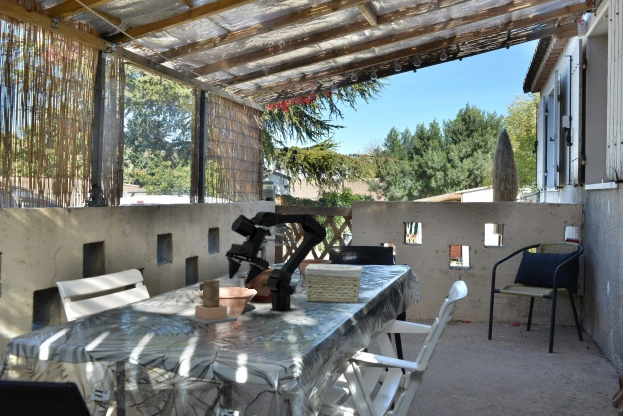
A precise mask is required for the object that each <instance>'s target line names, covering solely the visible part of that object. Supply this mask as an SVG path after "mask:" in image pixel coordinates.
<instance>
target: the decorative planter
mask: <svg viewBox="0 0 623 416" xmlns="http://www.w3.org/2000/svg"><path fill="white" fill-rule="evenodd" d="M264 270H265V271H263V272H261V273H260V274H259V275H257V276H256V277H255V278H254V279H253V280H252V281H251V282H250V283H249V284H246V283H245V282H246V279H247V276H248V274H246V275H247V276H246V278H245V280H244V286H245V288H248V289H255V290H256V291H257V294H256V295H255V296H254V297H253V298H252V299H251V300H250V299H249V301H250V302H253V303H266V302H267V303H268V302H272V297H273V294H274V293H271V292H270V288H269V287H268V285H267V279H268V278H269V276H268V275H270V274H271V273H272V271H273V270H274V268H272V267H269V268H268V270H266V269H264ZM249 271H250V269H249V270H248V272H249Z"/></svg>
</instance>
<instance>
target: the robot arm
mask: <svg viewBox="0 0 623 416" xmlns="http://www.w3.org/2000/svg"><path fill="white" fill-rule="evenodd" d="M281 224H300V227H301V229H302V230H303V231H304V233H303V237H302V240H301V242H300V244H299V245H298V246H297V247H296V249H295V250H294V251H293V253H292V254H291V255H290V257H288V259H287V260H286V262H285V263H284V264H283V265H282V267H281V268H273V269H274V270H273V271H272V273H271V274H270V275H268V276H269V278H268V279H267V285H268V287H269V288H270V292H271V293H274V294H273V297H272V301H271V308H270V311H274V312H275V311H276V312H283V313H285V312H288V311H292V310H293V309H294V308H292V307H291V296H293V295H294V292H295V289H294V288H293V287H292V286H291V285H290V284H291V282H292V278H293V274H294V273H295V272H296V270H297V269H298V268H299V266H300V264H302V263H303V261H304V259H305V258H306V257H307V256H308V255H309V253H310V252H311V251H312V249H313V248H315V247H316V246H318V245H320V244H321V243H322V242H324V241H325V239H326V238H327V235H328V234H327V229H326V228H325V227H324V226H322V225H321V223H320V222H319V221H317V220H316V219H314V218H313V216H312V215H311V214H310V213H308V212H307V213H306V212H300V213H277V212H272V211H257V213H256V214H254V216H253V217H251V218H249V217H247V216H246V215H244V214H239V216H238V217H237V218H236V219H235V220H234V221H233V222H232V223H231V226H230V227H231V228H230V229H231V231H233V232H235V233H236V234H238V235H239V236H242V237H243V238H247V237H248V238H247V240H246V241H245V240H244V241H243V242H242V244H241V243H231V244H230V245H231V246H230V250H227V251H226V253H225V255H224V257H226V260H227V261H228V263H229V271H228V279H230V280H232V279H233V278H234V277H235V275H236V274H237V272H238V271H239V270H240V268H241V266H242V264H241V263H242V262H246V263H249V270H250V271H249V270H248V273H247V275H248V276H247V279H246V282H245V283H246V284H249V283H250V282H251V281H252V280H253V279H254V278H255V277H256V276H257V275H259V274H260V273H261V272H263V271H265V270H264V269H266V270H268V268H270V262H269V261H267V260H266V259H264V258H263V257H259V253H260V252H263V248H262V245H263V244H264V241H265V239H266V237H272V233H271V231H270V229H269V228H270V227H275V226H277V225H281ZM264 227H265V228H264ZM267 227H268V228H267Z"/></svg>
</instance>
